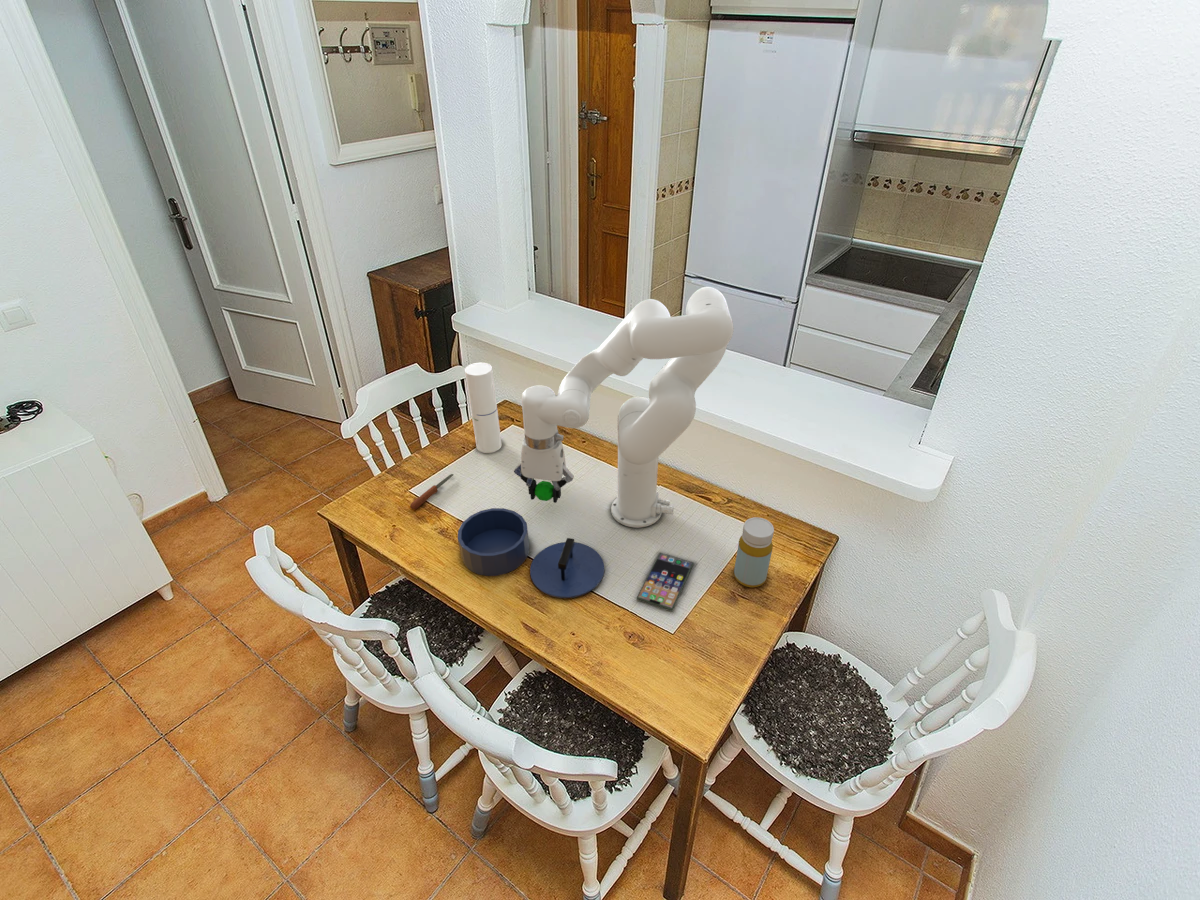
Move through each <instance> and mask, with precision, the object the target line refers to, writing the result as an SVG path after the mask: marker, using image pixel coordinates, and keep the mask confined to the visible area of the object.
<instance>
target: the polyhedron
mask: <svg viewBox="0 0 1200 900" xmlns="http://www.w3.org/2000/svg"><path fill="white" fill-rule="evenodd" d="M553 489H554V486H553V483H552V481H548V480H541V481H539V482H538V483H537V485H536V487H535V495H536V496H535V498H537V499H538V500H539V501H543V502H548V501H551V500H553Z"/></svg>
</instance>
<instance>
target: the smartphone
mask: <svg viewBox="0 0 1200 900" xmlns="http://www.w3.org/2000/svg"><path fill="white" fill-rule="evenodd" d="M694 563H695V562H693V561H690V560H686V559H683V558H679V557H676V556H673V555H670V554H666V553H663V552H659V553H658V555H657V557H656V559H655V561H654V563H653V565H652V567H651V569H650V571H649V573H648V574H647V576H646V579H645V580H644V582H643V584H642V586H641V588H640V590H639V592H638V593H637V596H636V598H635V599H636V601H639V602H642V603H646V604H648V605H652V606H654V607H657V608H661V609H664V610H666V611H669V612H673V611H674V609H675V607H676V605H677V602H678V600H679V597H680V595H681V593H682V591H683V588H684V586H685V585H686V583H687V582H686V581H687V580H688V578H689V576H690V573H691V571H692V569H693V567H694Z"/></svg>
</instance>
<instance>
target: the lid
mask: <svg viewBox="0 0 1200 900" xmlns="http://www.w3.org/2000/svg"><path fill="white" fill-rule="evenodd" d="M529 571H530V572H529V574H530V579H531V582H532V583H533V585H534V586H535V588H536V589H538V590H539V591H540V592H542V593H543V594H544V595H545V594H546V595H548V596H549V597H554V598H557V599H572V598H574V599H575V598H577V597H581V596H585V595H586V594H588V593H590V592H592V591H593V590H595V588H597V587H598V586H599V585H600V583H601V581H602V580H603V578H604V575H605V562H604V559H603V557H602V556H601V555H600V553H599V552H598V551H597V550H596V549H595V548H593V547H591V546H590V545H587V544H585V543H581V542H577V541H575V538H571V537H567V538H566V540H565V541H564V542H563V541H562V542H557V543H553V544H551V545H548V546H546V547H544V548H543V549H542V550H540V551H539V552H538V553H537V554H536V555H535V556H534V558H533V559H532V561H531V564H530V568H529Z"/></svg>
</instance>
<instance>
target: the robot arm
mask: <svg viewBox="0 0 1200 900" xmlns="http://www.w3.org/2000/svg"><path fill="white" fill-rule="evenodd" d="M722 293H723V292H721V291H720V290H719V289H717V288H715V287H713V286H702V287H700V288H698V289H697V290H696V291H694V292H693V293H692V294H691V295H690V297H689V298H688V301H687V303H686V306H685V315H677V316H671V314H670V311H669V309H668V308H667V307H666V306H665V305H664V303H662V302H661V301H660V300H658V299H654V298H647V299H643V300H641V301H640V302H638V303H637V304H636V305H635V306H634V307H633V308H632V309H630V311H629V312H628V313H627V315H626V316H625V317H624V318H623V319H622V320H621V321H620V322H619V323H618V325H617V326H615V328H614V329H613V330H612V331H611V332H610V334H609V335H608V336H607V337H606V338H605V339H604V341H602V342H601V344H600V345H599V346H598V347H596V348H594V349H593V350H591V351H590V352H588V353H587V354H585V355H583V356H582V357H580V359H579V360H578V361H577V362H576V363H575V364H574V366H573V367H572V368H571V369H570V370H569V371H568V372H567V374H566V375H565V376H564V377H563V379H562V380H561V382H560V384H559V387H558V390H557V395H556V392H555V391H554V390H553V389H552V388H551V387H549V386H547V385H542V384H537V385H531V386H529V387H527V388H525V389H524V390H523V392H522V393H521V408H522V409H521V410H522V419H523V420H522V421H523V431H524V437H523V439H522V443H521V451H520V463H519V464H517V466H516V467H515V468H514V470H513V473H514V474H515V475H517V477H519V478H520V479H521V480H522V481H523V482H524V483H525V485H526V487H527V488H528V489H527V490H528V495H530V500H535V498H536V495H535V487H536V485H537V484H538V483H537V480H541V481H548V482H551V484H552V485H553V486H554V489H553V498H552V502H553V503H555V504H557V502H558V499H561V497H562V488H563V487H564V486H566V485H567V484H568V483H570V482H572V481H574V479H575V476H574V474H573V473H572V472H571V470H569V469H568V468H567V463H566V455H565V449H564V445H563V441H564V439H565V438H564V435H563V434H560V433H559V429H558V426H559V427H562V428H567V429H578V428H581V427H584V426H585V425H586V424H587V422H589V419H590V414H591V398H592V394H593V393H594V391H595V390H596V389H597V388H598V387H599V386H600V385H601V384H602V383H604V381H605V380H606V379H607V378H608V377H610V376H612V375H616V376H619V377H626V376H628V375H629V374H630V373H631V372H632V371H633V370H634V369H635V368H636V367H637V366H638V365H639V364H640V362H641V361H643V359H647V360H668V359H669V360H668V361H667V362H666V363H665V364H664V365H663V366H662V367H661V368H660V369H659V370H658V372H656V373H655V375H654V376H653V377H652V378H651V379H650V382H649V384H648V398H647V397H645V396H633V397H630V398H629V399H627V400H625V401H624V402H623V403H622V404H621V406H620V408H619V410H618V413H617V497H616V498H615V499H613V501H612V503H611V507H610V511H611V515H612V517H613V519H614V520H615V521H617V522H618V523H619V524H621V525H623V526H625V527H629V528H634V529H635V528H636V529H637V528H638V529H639V528H645V527H649V526H653V524H655V523H656V522H658V521H659V520H660V518H661V516H662V513H665V514H666V515H667V514H669V515H674V510H675V506H673V505H670V504H671V500H670V499H661V497H660V495H659V494H660V493H659V492H657V489H658V471H659V470H658V469H659V457H660V456H661V455H662V454H663V453H664V452H665V451H666V450H667V449H669V447H670V446H671V445H672V444H674V442H676V440H678V438H679V437H680V436H681V435H682V434H683V433H684V432H685V431H687V429H688V428H689V427H690V425H691V424H692V422H693V420H694V419H695V415H696V412H697V403H696V397H695V395H696V392H697V390H698V389H699V388H700V386H702V384H703V383H704V382H705V381H706V380H707V379H708V377H709V376H710V375H711V374H712V373H713V372H714V370H715V369H716V368H717V367H718V365H719V364H720V362H721V361H722V359H723V357H724V356H725V353H726V351H727V347H728V345H729V343H730V341H731V340H732V338H733V336H734V329H735V328H734V321H733V318H732V315H731V313H730V307H729V306H728V302H727V299H726V297H725V296H724V294H722Z"/></svg>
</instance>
